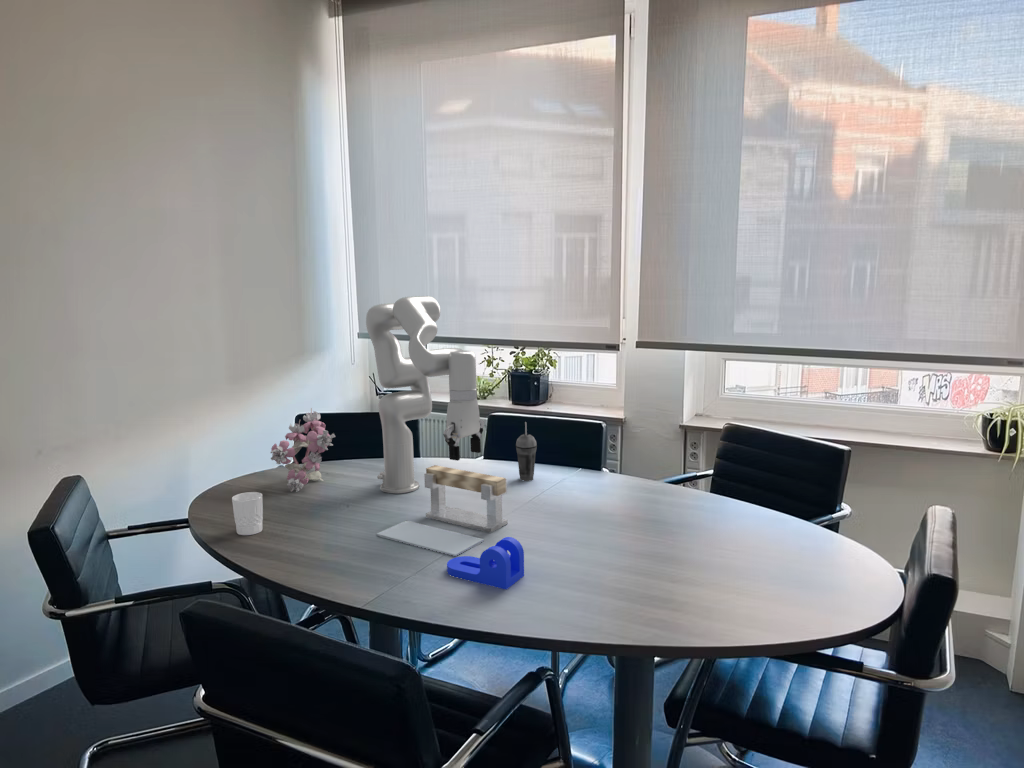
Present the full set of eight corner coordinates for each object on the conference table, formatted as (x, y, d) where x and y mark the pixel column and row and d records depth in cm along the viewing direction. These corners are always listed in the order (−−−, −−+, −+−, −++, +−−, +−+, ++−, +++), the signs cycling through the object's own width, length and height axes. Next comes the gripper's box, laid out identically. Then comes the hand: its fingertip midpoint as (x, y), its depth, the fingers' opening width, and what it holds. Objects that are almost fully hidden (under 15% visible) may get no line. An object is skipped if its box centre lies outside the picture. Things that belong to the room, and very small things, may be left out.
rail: (426, 481, 210) (426, 468, 209) (435, 478, 213) (435, 465, 213) (497, 496, 196) (497, 481, 196) (505, 492, 200) (505, 478, 199)
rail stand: (425, 517, 210) (424, 473, 207) (443, 509, 216) (442, 467, 214) (490, 532, 197) (490, 486, 195) (507, 523, 203) (506, 479, 201)
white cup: (271, 528, 202) (268, 493, 201) (250, 538, 195) (247, 502, 194) (249, 524, 206) (247, 490, 204) (228, 534, 199) (225, 498, 197)
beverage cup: (538, 476, 249) (537, 419, 246) (536, 482, 242) (536, 423, 238) (516, 475, 250) (516, 418, 246) (514, 482, 242) (514, 423, 239)
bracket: (524, 576, 170) (523, 539, 168) (506, 590, 163) (505, 552, 161) (459, 561, 178) (458, 526, 177) (440, 574, 171) (439, 538, 170)
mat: (376, 535, 196) (376, 533, 196) (406, 522, 206) (406, 520, 206) (455, 556, 181) (455, 554, 181) (483, 541, 191) (483, 539, 191)
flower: (250, 479, 244) (256, 419, 231) (307, 458, 260) (316, 402, 248) (284, 515, 234) (292, 454, 222) (341, 491, 251) (352, 434, 238)
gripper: (471, 390, 210) (473, 448, 212) (432, 399, 195) (435, 461, 198) (492, 391, 205) (494, 450, 208) (454, 401, 191) (456, 464, 194)
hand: (465, 455), depth 203 cm, fingers open, 9 cm apart
